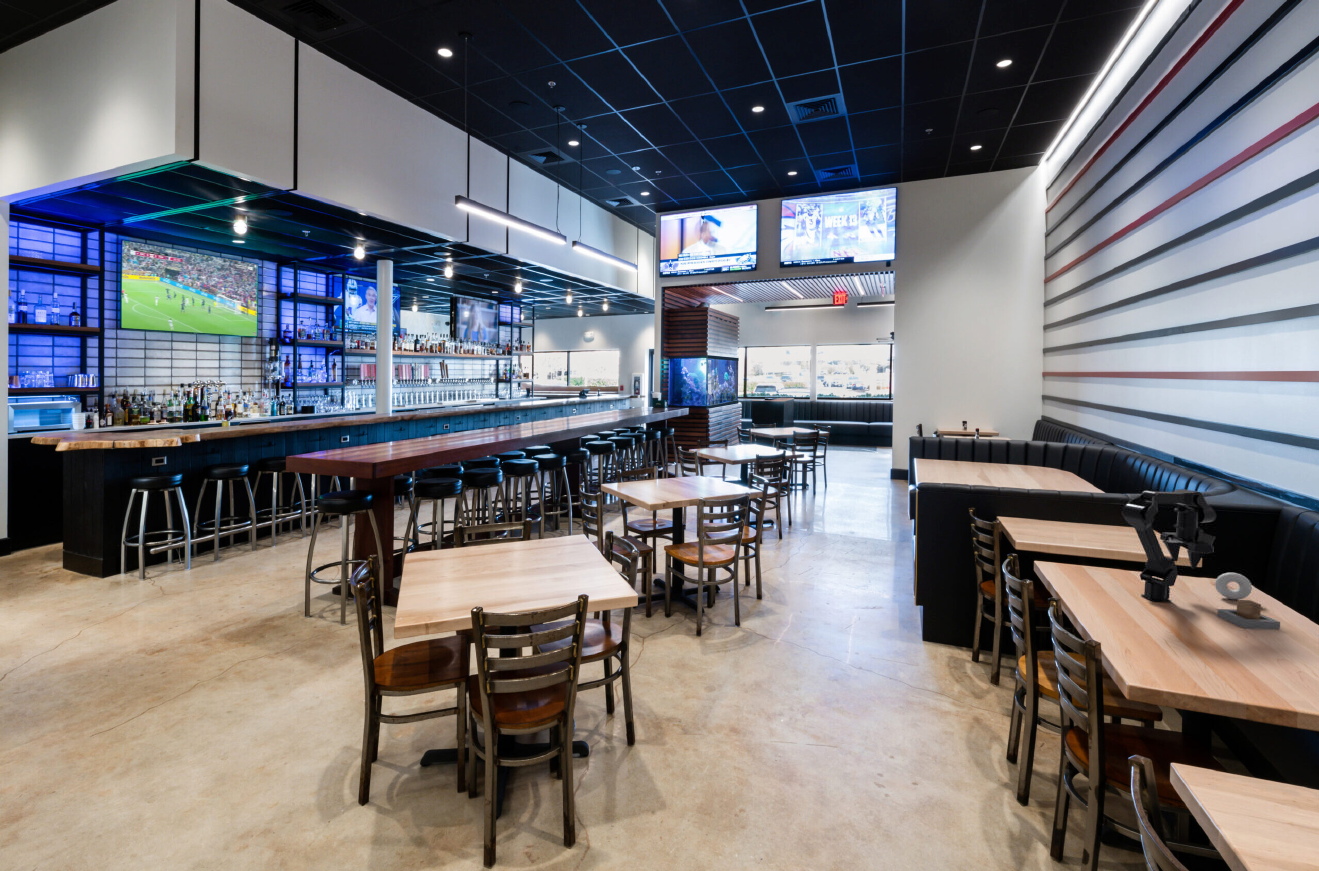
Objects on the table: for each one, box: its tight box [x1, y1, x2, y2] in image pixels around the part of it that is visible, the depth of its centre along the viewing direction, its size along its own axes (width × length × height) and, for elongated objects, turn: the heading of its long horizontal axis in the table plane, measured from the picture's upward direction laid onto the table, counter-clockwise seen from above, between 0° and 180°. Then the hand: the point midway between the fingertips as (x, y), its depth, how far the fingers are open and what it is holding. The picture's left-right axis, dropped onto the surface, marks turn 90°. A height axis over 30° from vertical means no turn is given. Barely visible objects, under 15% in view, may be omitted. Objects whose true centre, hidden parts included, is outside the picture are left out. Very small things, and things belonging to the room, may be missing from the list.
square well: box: [1216, 608, 1281, 630], centre depth 200 cm, size 11×11×2 cm
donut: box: [1214, 572, 1253, 600], centre depth 221 cm, size 10×4×10 cm, turn 56°
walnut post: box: [1236, 599, 1262, 619], centre depth 199 cm, size 4×4×7 cm
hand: (1184, 564), depth 224 cm, fingers open, 9 cm apart
